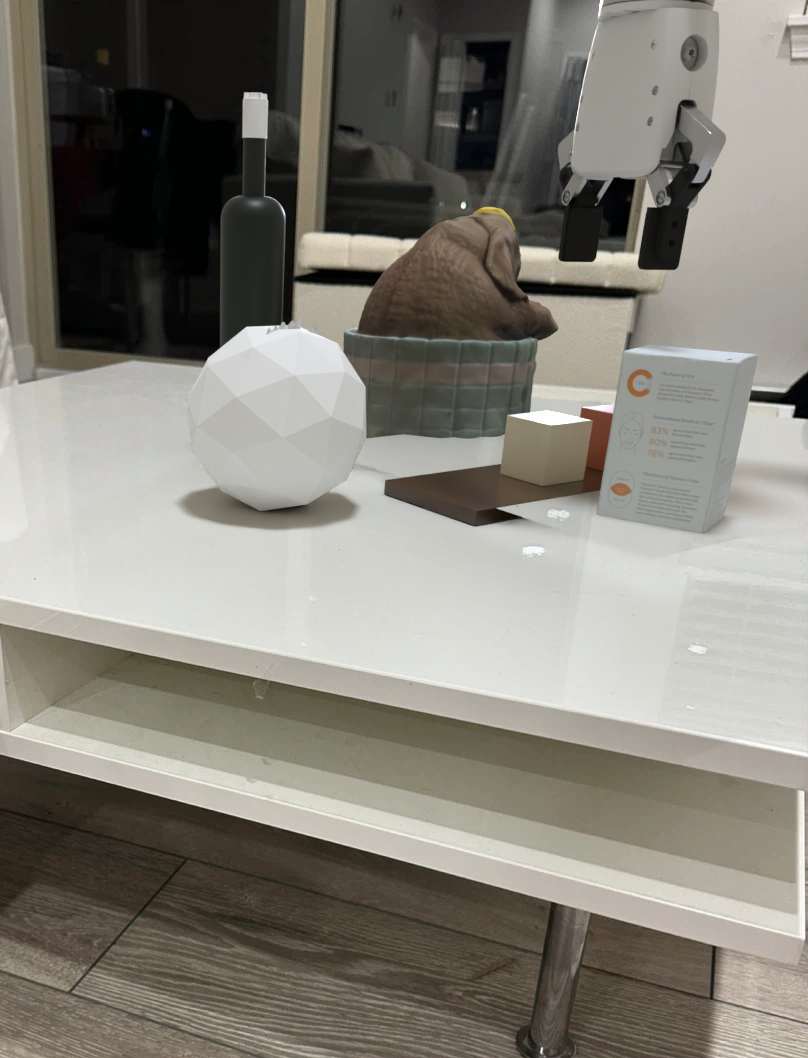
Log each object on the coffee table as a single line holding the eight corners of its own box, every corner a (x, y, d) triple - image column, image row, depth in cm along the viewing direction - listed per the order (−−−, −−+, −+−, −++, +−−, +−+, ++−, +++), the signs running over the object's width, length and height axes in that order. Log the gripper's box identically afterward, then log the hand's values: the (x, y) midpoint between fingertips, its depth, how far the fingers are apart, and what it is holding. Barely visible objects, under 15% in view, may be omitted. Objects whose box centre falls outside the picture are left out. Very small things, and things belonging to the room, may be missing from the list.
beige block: (540, 468, 93) (548, 410, 91) (583, 480, 90) (593, 420, 88) (499, 474, 91) (506, 414, 89) (542, 486, 87) (551, 425, 85)
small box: (722, 530, 81) (762, 353, 75) (699, 549, 76) (740, 361, 71) (618, 512, 85) (649, 342, 79) (591, 528, 80) (621, 349, 75)
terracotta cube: (609, 458, 98) (618, 403, 96) (653, 469, 94) (664, 412, 92) (572, 463, 95) (581, 407, 93) (616, 475, 92) (626, 416, 90)
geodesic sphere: (261, 399, 93) (212, 263, 81) (413, 417, 88) (384, 274, 76) (192, 531, 88) (128, 406, 76) (348, 559, 82) (307, 429, 70)
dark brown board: (592, 463, 101) (594, 450, 101) (689, 488, 93) (692, 474, 93) (383, 493, 88) (384, 479, 88) (474, 526, 80) (476, 510, 80)
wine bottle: (262, 442, 106) (270, 97, 93) (288, 454, 101) (301, 93, 88) (209, 446, 103) (210, 93, 90) (234, 458, 99) (239, 88, 86)
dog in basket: (540, 413, 126) (569, 209, 116) (554, 456, 103) (591, 209, 94) (351, 402, 129) (363, 203, 119) (325, 442, 107) (338, 201, 97)
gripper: (797, -23, 66) (736, 273, 73) (623, 15, 80) (587, 259, 88) (701, -35, 63) (648, 273, 71) (539, 7, 78) (510, 258, 85)
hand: (614, 265), depth 79 cm, fingers open, 9 cm apart
